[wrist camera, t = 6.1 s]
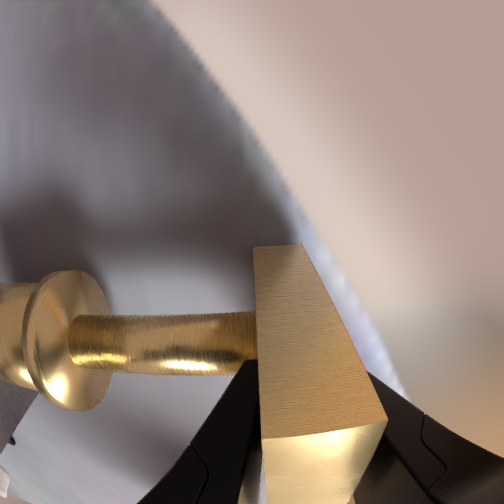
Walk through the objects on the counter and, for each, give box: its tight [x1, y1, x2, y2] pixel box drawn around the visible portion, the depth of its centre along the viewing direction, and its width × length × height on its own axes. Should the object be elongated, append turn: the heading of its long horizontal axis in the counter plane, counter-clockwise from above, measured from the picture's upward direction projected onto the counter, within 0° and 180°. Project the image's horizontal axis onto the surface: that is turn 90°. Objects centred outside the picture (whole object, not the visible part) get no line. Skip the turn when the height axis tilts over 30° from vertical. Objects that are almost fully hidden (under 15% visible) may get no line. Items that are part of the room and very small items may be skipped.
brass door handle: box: [0, 244, 388, 504], centre depth 8 cm, size 14×5×8 cm, turn 94°
